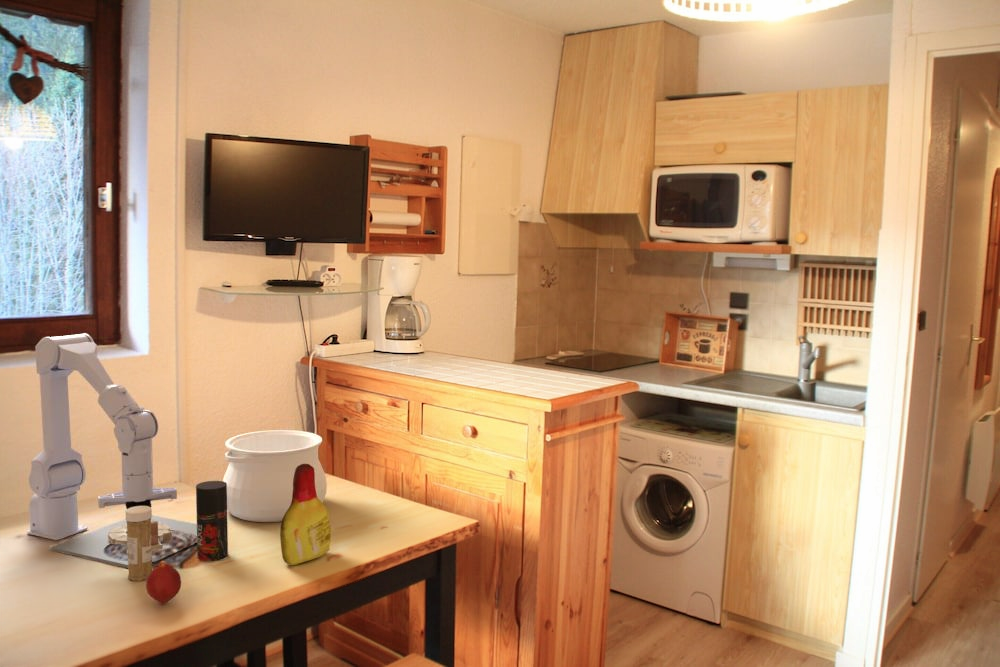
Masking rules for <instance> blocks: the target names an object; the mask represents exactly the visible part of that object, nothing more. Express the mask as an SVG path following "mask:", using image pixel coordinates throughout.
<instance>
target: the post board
mask: <svg viewBox="0 0 1000 667" xmlns="http://www.w3.org/2000/svg"><path fill="white" fill-rule="evenodd" d="M126 521H127V520H126V518H124V519H123V520H120V521H117V522H114V523H112V524H109V525H106V526H104V527H101V528H97V529H95V530H92V531H89V532H87V533H85V534H82V535H79V536H76V537H74V538H71V539H68V540H65V541H63V542H60V543H57V544H54V545H52V546H50V548H49V550H50V551H54V552H58V553H61V554H66V555H70V556H74V557H80V558H84V559H87V560H88V559H89V560H91V561H92V560H93V561H97V562H101V563H104V564H109V565H114V566H117V567H122V568H126V569H128V561H118V560H115V559H111V558H109V557H107V556H105V555H104V554H103V549H104V548H105V547H106V546H107V545H109V544H111V542H110V541H109V540H108V533H109V532H110V531H112V530H114V529H115V528H117V527H119V526H122V525H126V524H127V522H126ZM151 521H157V522H160V523H162V524H163V523H165V524H166V525H167V526H168V527H169V528H170V530H181V531H186V532H189V533H192V534H194V535H196V536H197V523H193V522H188V521H184V520H183V521H182V520H176V519H173V518H168V517H161V516H157V515H153V514H152V517H151Z"/></svg>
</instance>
